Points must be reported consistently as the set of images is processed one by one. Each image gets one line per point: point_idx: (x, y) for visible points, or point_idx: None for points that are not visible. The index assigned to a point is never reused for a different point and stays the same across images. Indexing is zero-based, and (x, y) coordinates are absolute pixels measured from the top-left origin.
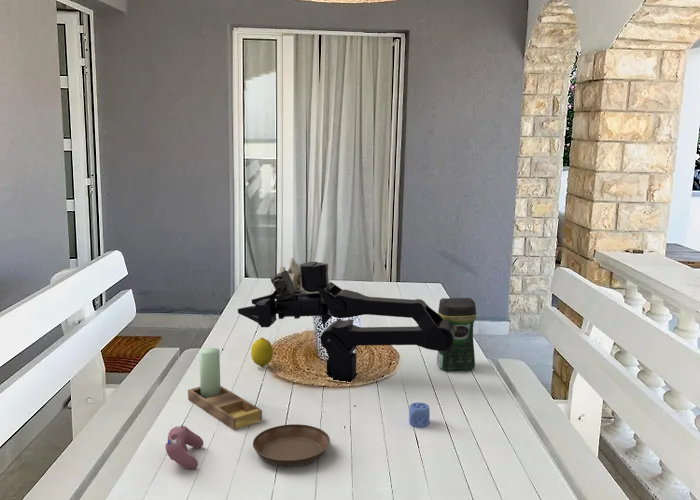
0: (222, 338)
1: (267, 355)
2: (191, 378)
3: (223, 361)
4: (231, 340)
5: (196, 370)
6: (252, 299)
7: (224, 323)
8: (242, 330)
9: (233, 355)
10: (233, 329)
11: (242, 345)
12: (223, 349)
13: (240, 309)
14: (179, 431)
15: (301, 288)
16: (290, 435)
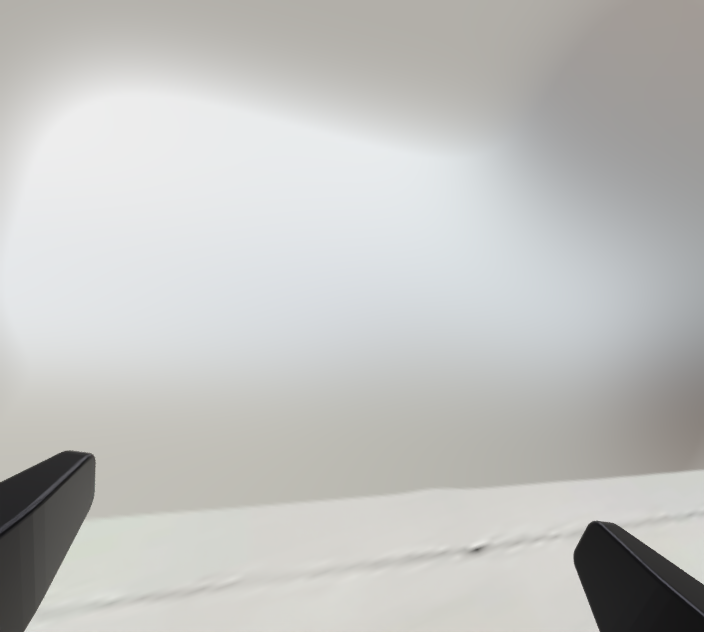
0: (565, 513)
1: None
2: (108, 532)
3: (345, 605)
4: None
5: (214, 523)
6: (610, 525)
7: (667, 481)
8: (688, 558)
9: (437, 627)
10: (661, 523)
11: (570, 623)
12: (476, 553)
13: (10, 486)
14: None
15: None
16: None
